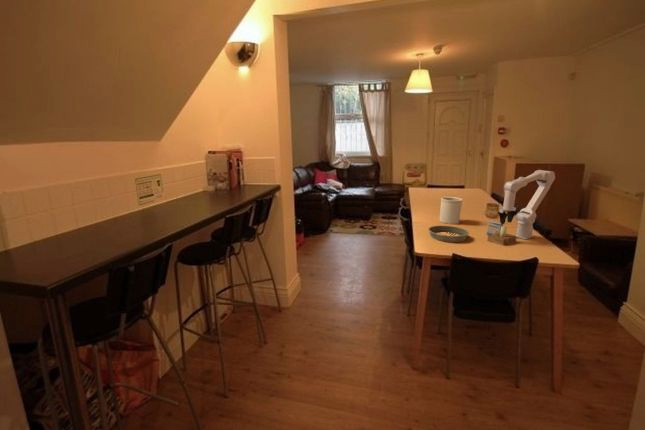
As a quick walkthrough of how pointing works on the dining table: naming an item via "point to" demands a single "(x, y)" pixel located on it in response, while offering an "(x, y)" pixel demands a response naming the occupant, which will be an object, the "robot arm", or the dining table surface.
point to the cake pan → (450, 229)
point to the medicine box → (493, 227)
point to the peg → (503, 231)
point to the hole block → (502, 239)
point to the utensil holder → (450, 210)
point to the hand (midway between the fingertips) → (505, 222)
